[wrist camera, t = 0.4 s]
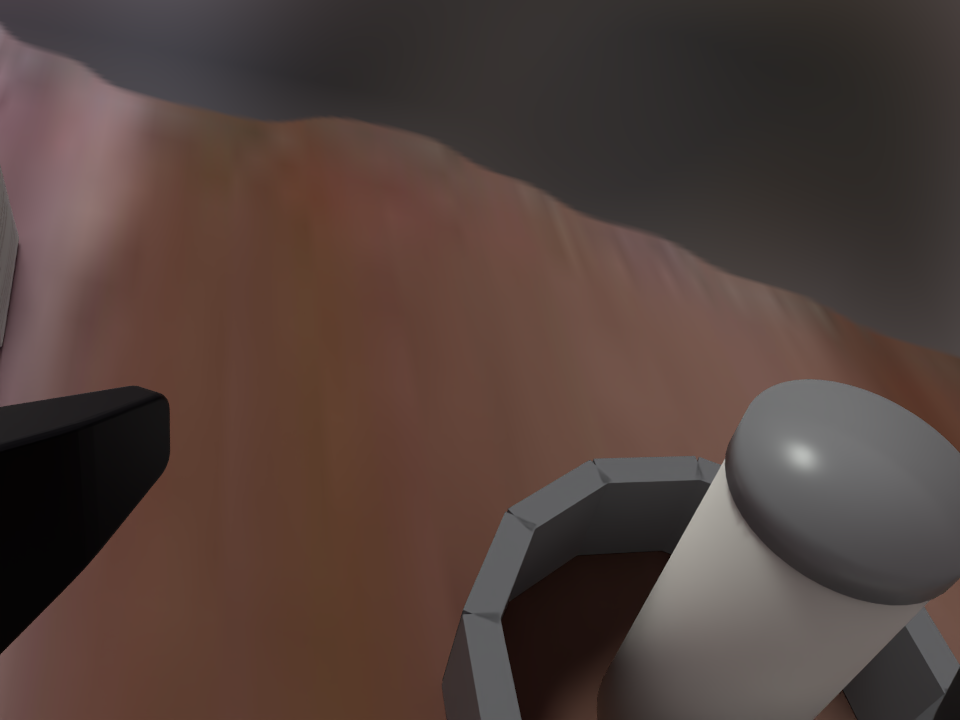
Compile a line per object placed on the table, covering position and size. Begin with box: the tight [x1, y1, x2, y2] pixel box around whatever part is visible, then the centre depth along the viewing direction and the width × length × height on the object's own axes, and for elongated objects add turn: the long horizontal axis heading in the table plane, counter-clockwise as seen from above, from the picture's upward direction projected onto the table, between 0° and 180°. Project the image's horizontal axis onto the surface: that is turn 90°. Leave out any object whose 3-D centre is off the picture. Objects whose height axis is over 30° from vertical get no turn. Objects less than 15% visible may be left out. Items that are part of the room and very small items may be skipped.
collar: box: [442, 456, 960, 720], centre depth 24 cm, size 14×14×4 cm
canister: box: [597, 379, 960, 720], centre depth 21 cm, size 5×5×12 cm
